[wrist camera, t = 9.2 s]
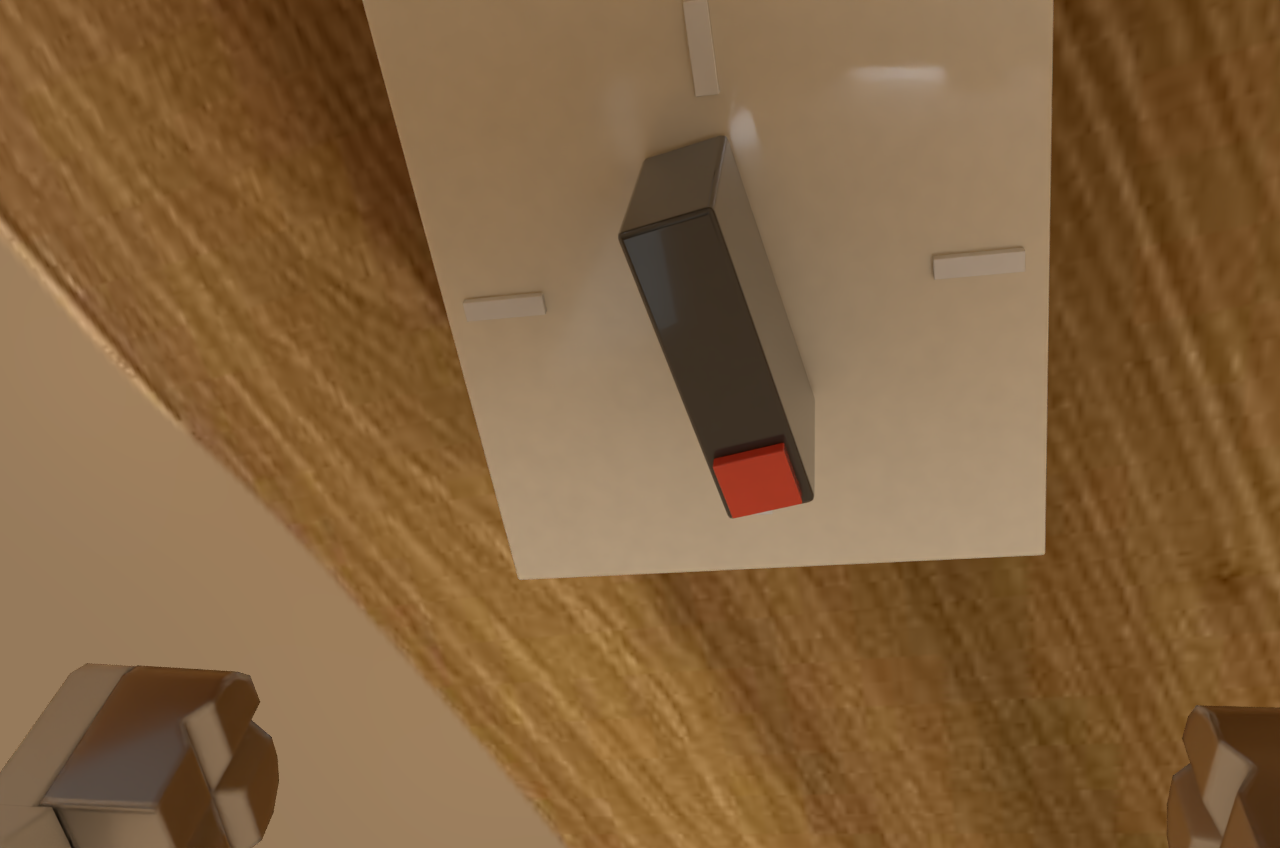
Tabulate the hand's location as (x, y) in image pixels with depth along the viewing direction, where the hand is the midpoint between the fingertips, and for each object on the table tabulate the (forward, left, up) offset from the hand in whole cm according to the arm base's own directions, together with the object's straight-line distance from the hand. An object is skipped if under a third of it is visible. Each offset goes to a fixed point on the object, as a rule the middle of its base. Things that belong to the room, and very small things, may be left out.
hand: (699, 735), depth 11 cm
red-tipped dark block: (+1, 0, -11) cm, 11 cm away
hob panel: (+1, 0, -14) cm, 14 cm away
